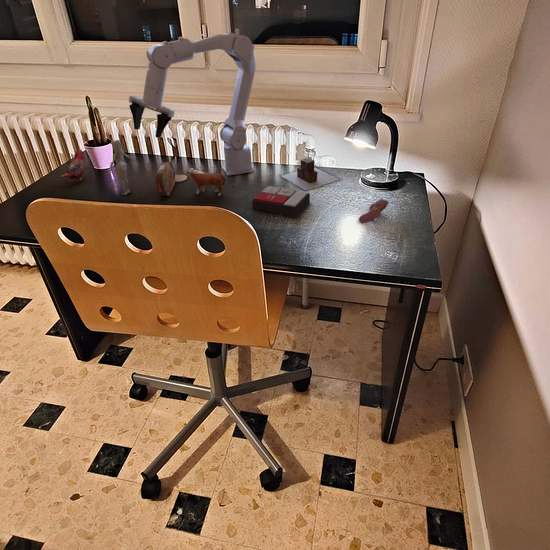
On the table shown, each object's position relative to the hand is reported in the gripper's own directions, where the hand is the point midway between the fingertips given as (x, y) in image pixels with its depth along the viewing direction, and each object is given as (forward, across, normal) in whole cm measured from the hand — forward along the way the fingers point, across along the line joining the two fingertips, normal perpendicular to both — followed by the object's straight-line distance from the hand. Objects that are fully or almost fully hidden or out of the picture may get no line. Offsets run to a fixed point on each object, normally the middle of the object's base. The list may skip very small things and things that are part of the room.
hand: (147, 133), depth 133 cm
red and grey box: (+8, +48, +2) cm, 49 cm away
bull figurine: (+13, +22, +5) cm, 26 cm away
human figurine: (+21, -3, -2) cm, 22 cm away
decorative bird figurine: (+26, -24, +2) cm, 35 cm away
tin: (+17, +8, +4) cm, 19 cm away
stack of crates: (+1, +51, +24) cm, 56 cm away
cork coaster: (+15, +8, +13) cm, 21 cm away
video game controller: (+1, +76, 0) cm, 76 cm away
